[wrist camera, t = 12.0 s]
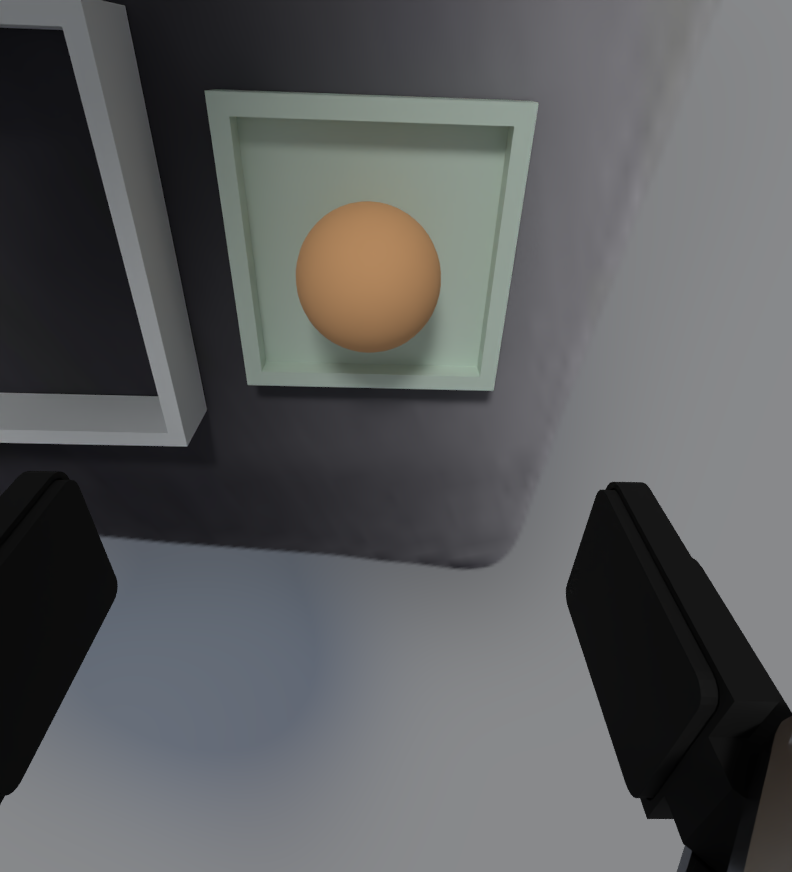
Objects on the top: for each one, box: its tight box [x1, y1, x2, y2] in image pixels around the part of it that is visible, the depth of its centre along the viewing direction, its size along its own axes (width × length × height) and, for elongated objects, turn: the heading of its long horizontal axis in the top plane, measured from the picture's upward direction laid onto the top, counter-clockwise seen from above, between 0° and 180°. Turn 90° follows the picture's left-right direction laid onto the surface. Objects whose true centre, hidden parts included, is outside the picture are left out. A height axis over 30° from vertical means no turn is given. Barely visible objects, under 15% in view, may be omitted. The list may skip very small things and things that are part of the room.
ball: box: [296, 201, 441, 353], centre depth 22 cm, size 6×6×6 cm
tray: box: [205, 89, 539, 391], centre depth 24 cm, size 13×13×2 cm
